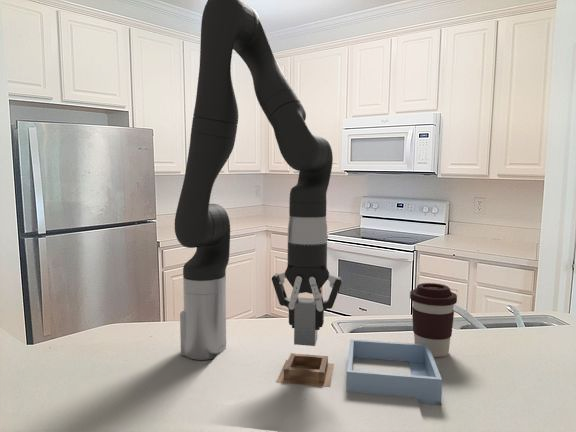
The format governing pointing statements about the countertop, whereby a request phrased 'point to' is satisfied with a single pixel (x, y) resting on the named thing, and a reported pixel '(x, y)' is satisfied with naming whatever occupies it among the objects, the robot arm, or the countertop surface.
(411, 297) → the coffee cup
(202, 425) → the countertop surface
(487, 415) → the countertop surface
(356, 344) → the bin
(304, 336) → the grey rectangular peg
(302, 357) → the socket block
